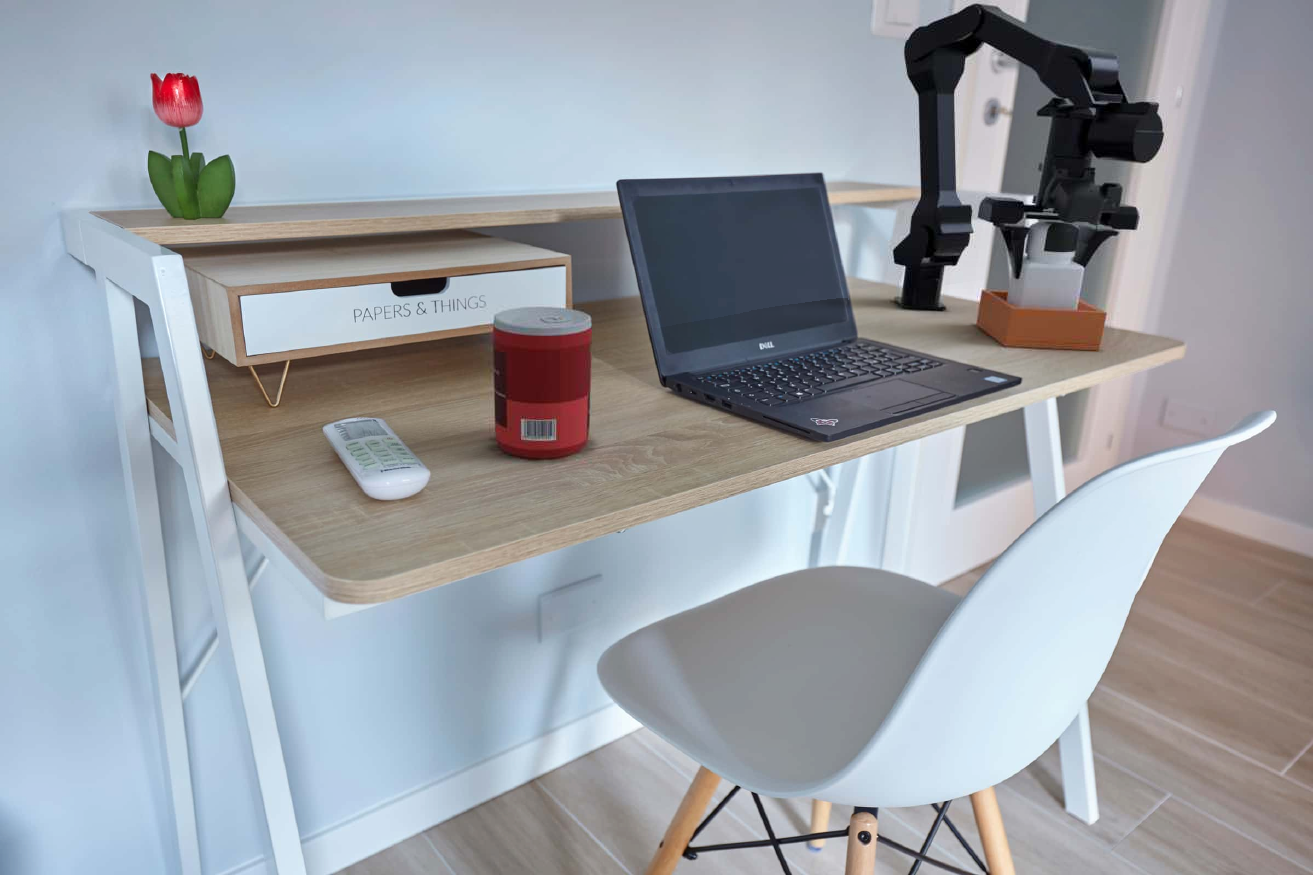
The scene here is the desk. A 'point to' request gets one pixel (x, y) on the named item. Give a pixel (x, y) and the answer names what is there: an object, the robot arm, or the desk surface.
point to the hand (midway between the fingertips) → (1044, 280)
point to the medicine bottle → (1048, 269)
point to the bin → (1040, 324)
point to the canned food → (542, 381)
